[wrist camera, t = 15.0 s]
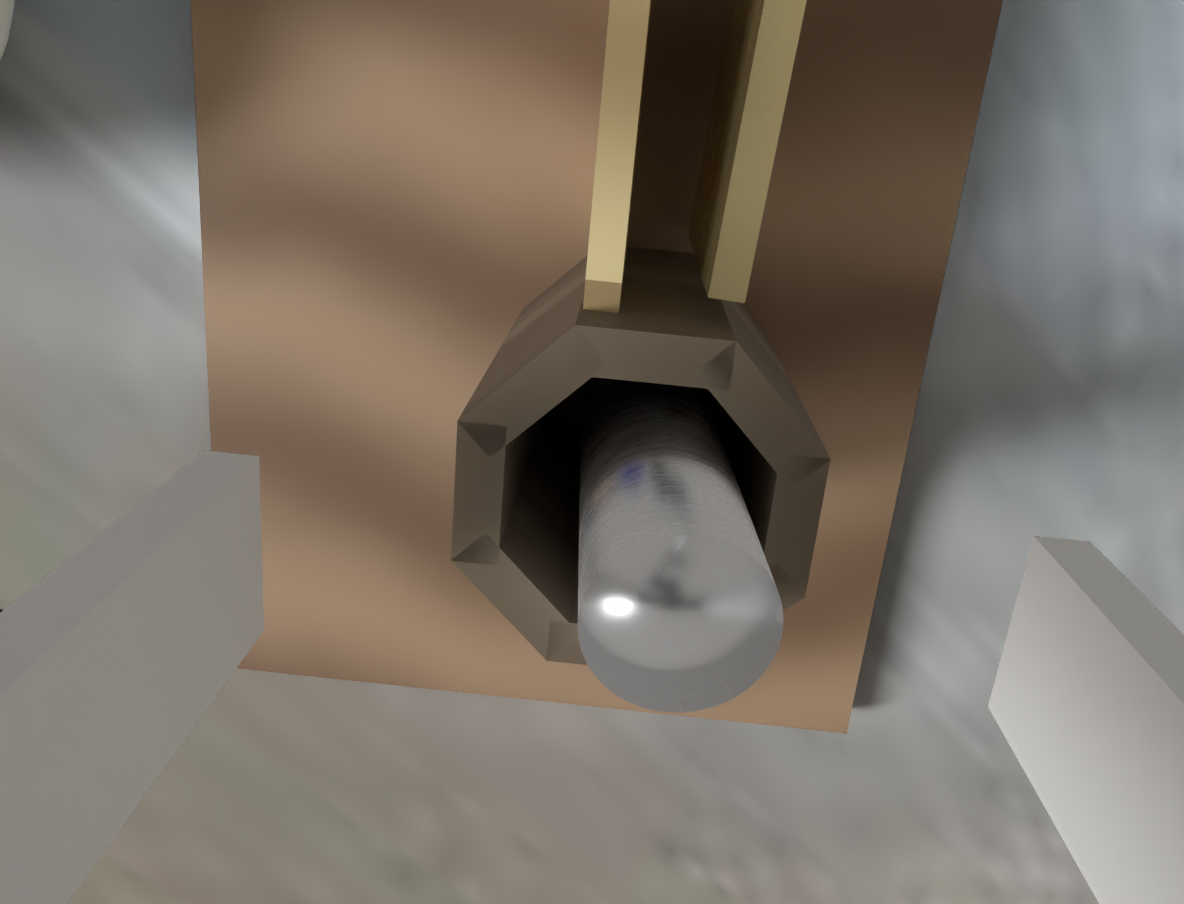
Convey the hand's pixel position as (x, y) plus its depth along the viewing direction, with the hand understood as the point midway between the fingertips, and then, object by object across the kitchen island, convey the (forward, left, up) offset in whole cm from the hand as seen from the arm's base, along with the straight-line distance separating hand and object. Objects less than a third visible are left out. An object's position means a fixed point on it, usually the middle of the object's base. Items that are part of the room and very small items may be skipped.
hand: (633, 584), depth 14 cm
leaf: (-7, +1, -11) cm, 13 cm away
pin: (0, 0, -11) cm, 11 cm away
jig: (-2, -2, -13) cm, 13 cm away
